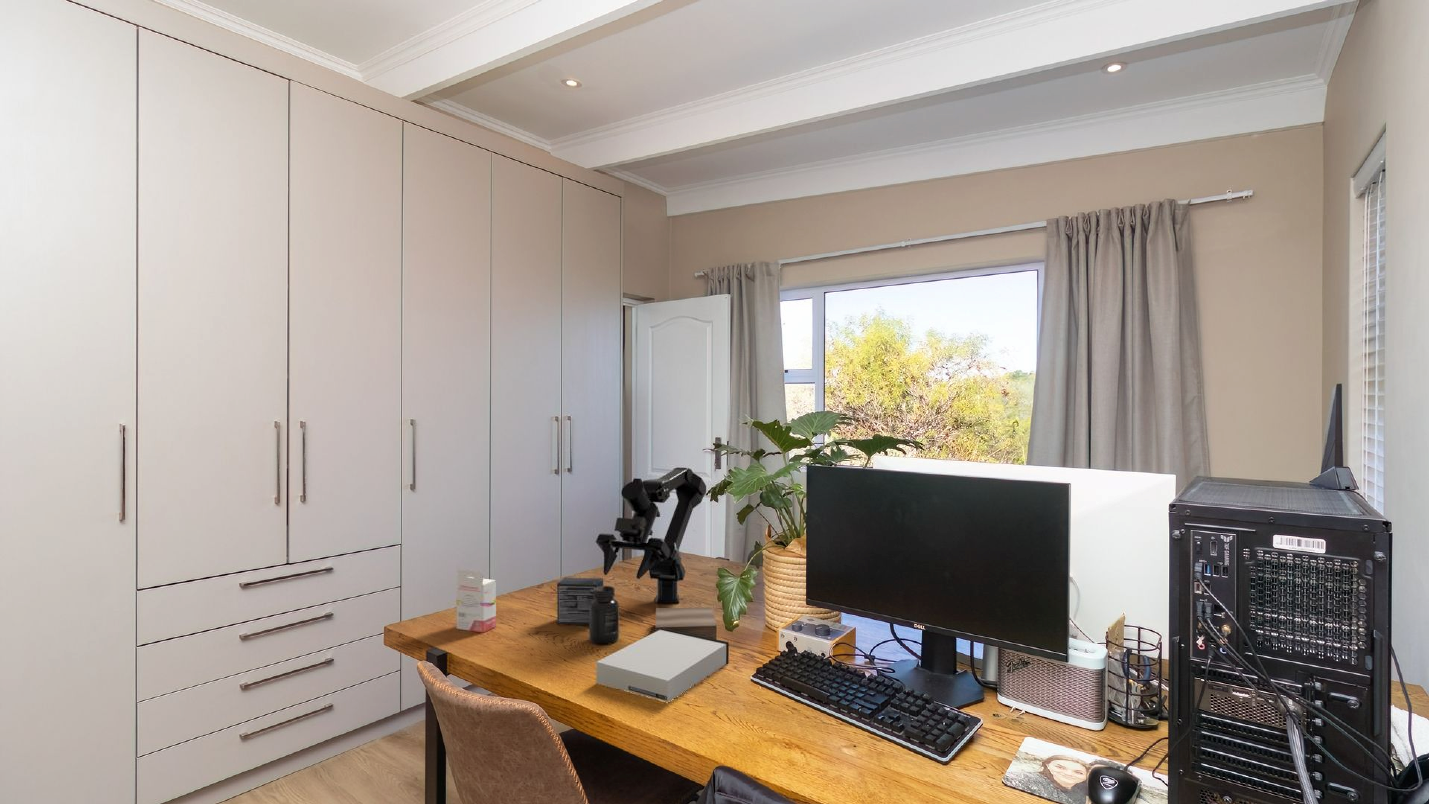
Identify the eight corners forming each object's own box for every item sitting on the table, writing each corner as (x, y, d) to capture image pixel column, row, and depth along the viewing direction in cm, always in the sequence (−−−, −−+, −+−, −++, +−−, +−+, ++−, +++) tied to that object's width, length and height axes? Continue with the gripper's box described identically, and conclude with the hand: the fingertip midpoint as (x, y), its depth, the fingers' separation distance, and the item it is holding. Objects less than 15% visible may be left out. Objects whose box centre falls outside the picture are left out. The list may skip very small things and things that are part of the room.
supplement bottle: (620, 634, 161) (620, 584, 161) (617, 645, 155) (617, 592, 155) (591, 635, 161) (591, 584, 161) (587, 645, 154) (587, 593, 154)
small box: (604, 618, 174) (604, 577, 174) (597, 626, 168) (597, 584, 168) (564, 616, 175) (564, 576, 175) (556, 625, 169) (556, 583, 169)
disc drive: (728, 665, 144) (728, 641, 144) (669, 706, 125) (669, 679, 125) (661, 649, 153) (661, 627, 153) (595, 685, 134) (595, 660, 134)
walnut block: (656, 624, 169) (656, 608, 169) (712, 623, 170) (712, 607, 170) (655, 644, 155) (655, 627, 155) (716, 643, 156) (716, 625, 156)
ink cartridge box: (497, 627, 167) (497, 567, 167) (483, 633, 162) (483, 572, 162) (469, 622, 170) (469, 564, 170) (455, 628, 166) (455, 568, 166)
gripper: (598, 502, 173) (574, 555, 163) (664, 506, 166) (643, 562, 156) (615, 526, 181) (593, 578, 171) (678, 531, 174) (659, 586, 164)
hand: (621, 576), depth 165 cm, fingers open, 9 cm apart
